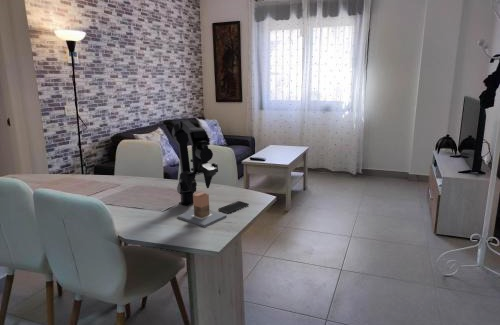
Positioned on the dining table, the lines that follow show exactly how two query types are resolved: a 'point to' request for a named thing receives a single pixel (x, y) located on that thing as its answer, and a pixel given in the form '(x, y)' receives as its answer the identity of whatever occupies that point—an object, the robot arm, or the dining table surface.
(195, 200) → the terracotta cube
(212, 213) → the board
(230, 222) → the dining table surface
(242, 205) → the phone
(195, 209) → the walnut cube
